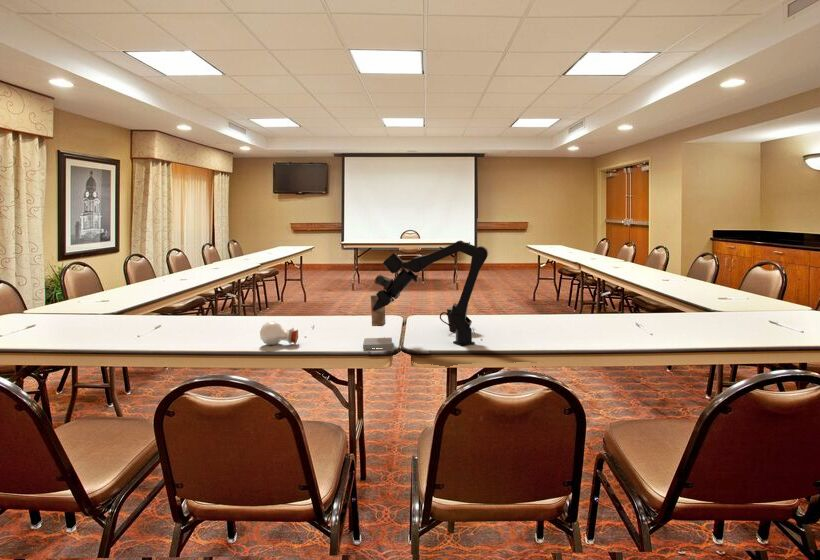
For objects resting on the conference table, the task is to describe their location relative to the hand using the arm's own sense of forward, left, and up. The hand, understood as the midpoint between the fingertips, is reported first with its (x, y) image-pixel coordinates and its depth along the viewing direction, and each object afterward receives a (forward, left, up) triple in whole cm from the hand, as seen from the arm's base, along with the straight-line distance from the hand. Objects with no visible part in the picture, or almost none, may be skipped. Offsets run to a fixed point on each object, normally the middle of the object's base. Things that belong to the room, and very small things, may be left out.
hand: (374, 309), depth 215 cm
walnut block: (-1, -1, -7) cm, 7 cm away
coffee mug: (-1, -37, -14) cm, 40 cm away
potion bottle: (+18, +35, -14) cm, 42 cm away
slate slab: (-7, +3, -13) cm, 16 cm away
